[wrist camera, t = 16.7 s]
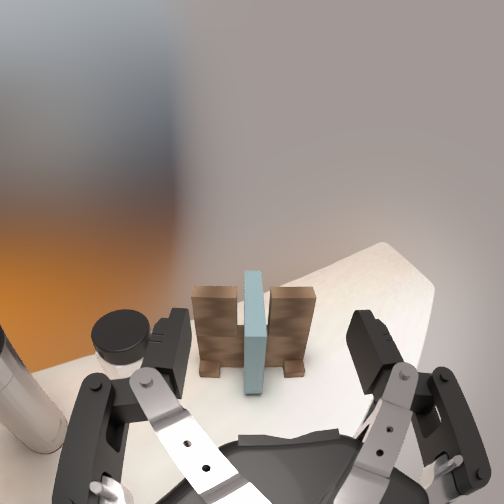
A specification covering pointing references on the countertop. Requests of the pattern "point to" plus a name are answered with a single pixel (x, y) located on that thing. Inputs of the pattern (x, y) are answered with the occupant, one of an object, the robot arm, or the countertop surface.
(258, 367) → the teal rectangular panel
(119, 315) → the jar
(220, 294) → the brown wooden u-shaped piece
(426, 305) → the countertop surface
